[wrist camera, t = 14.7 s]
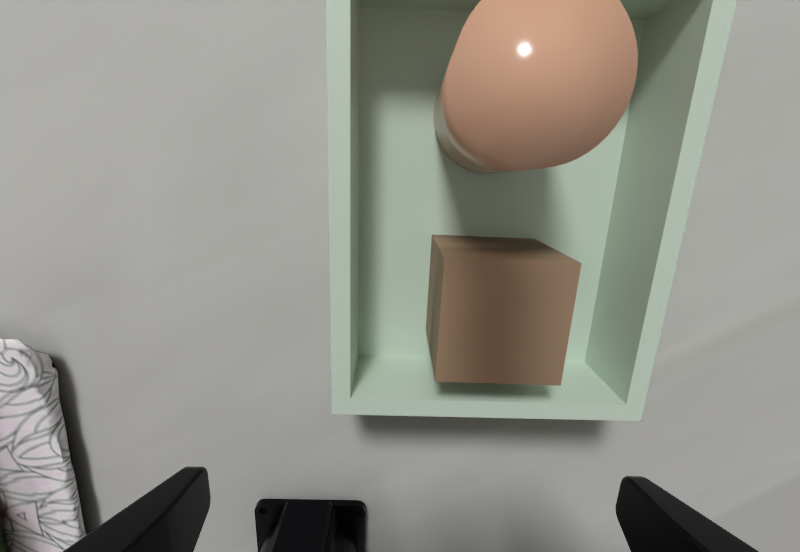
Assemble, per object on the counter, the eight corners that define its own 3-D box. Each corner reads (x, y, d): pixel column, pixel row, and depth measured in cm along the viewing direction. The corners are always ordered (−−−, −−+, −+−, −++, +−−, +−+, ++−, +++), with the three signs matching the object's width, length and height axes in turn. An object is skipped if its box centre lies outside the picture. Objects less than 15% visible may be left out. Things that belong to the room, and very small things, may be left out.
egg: (564, 75, 17) (670, 5, 10) (520, 188, 18) (590, 191, 11) (456, 36, 17) (491, -64, 10) (418, 152, 18) (426, 135, 11)
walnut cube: (534, 238, 19) (581, 263, 14) (521, 334, 20) (560, 385, 16) (431, 234, 19) (444, 257, 14) (425, 330, 20) (435, 381, 16)
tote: (591, 370, 22) (640, 421, 17) (344, 364, 21) (331, 414, 17) (658, 3, 17) (748, -52, 13) (343, -11, 17) (324, -72, 12)
